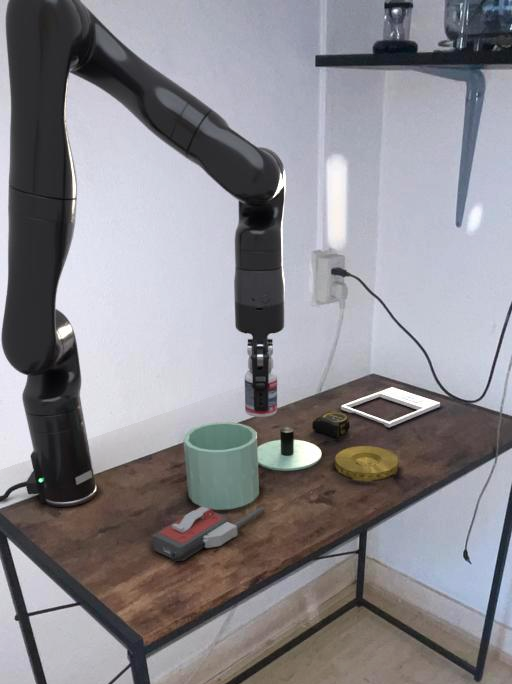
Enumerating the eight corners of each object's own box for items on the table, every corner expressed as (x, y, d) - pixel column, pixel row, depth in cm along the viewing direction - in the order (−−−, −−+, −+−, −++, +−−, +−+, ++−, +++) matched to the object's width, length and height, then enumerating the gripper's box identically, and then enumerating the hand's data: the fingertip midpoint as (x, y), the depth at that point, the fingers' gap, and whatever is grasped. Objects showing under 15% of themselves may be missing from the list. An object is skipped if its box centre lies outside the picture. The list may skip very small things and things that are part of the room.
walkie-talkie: (185, 572, 103) (268, 517, 117) (182, 547, 101) (267, 494, 115) (145, 553, 108) (229, 502, 122) (142, 529, 106) (227, 480, 119)
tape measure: (310, 433, 148) (310, 417, 146) (331, 424, 152) (331, 408, 150) (335, 442, 143) (335, 426, 142) (355, 432, 148) (356, 416, 146)
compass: (373, 451, 139) (373, 441, 138) (410, 474, 130) (411, 463, 129) (323, 464, 134) (323, 454, 133) (358, 489, 125) (359, 478, 124)
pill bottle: (273, 419, 110) (272, 365, 105) (241, 416, 111) (240, 363, 106) (280, 407, 114) (280, 355, 110) (249, 404, 115) (248, 352, 111)
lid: (253, 474, 131) (251, 445, 128) (253, 445, 143) (252, 417, 140) (324, 472, 132) (324, 443, 128) (318, 443, 143) (318, 415, 140)
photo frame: (440, 401, 159) (389, 422, 149) (440, 406, 160) (388, 427, 150) (392, 386, 169) (341, 404, 158) (392, 390, 169) (340, 409, 159)
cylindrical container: (186, 513, 119) (180, 452, 113) (192, 479, 130) (187, 423, 124) (259, 510, 119) (256, 450, 113) (259, 477, 130) (256, 421, 124)
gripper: (235, 287, 109) (239, 388, 118) (232, 309, 97) (236, 421, 105) (282, 287, 110) (282, 388, 118) (285, 309, 97) (285, 420, 106)
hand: (261, 403), depth 112 cm, fingers closed on pill bottle, 5 cm apart
